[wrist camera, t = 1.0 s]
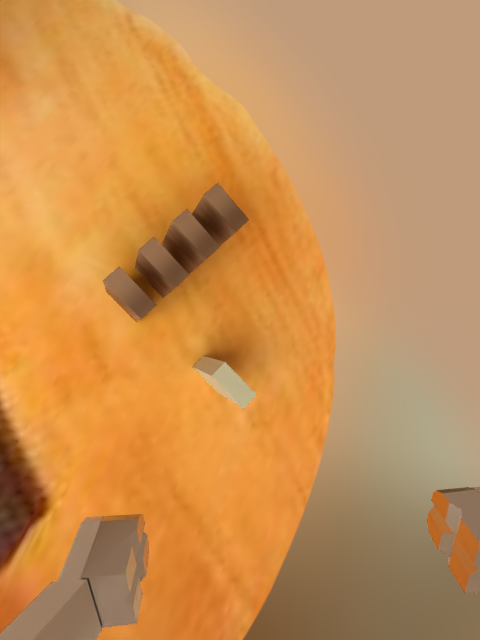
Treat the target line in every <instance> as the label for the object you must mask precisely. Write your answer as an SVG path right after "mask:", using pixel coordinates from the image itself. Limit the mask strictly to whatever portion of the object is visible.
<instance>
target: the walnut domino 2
mask: <svg viewBox="0 0 480 640" xmlns="http://www.w3.org/2000/svg"><path fill="white" fill-rule="evenodd" d="M135 269H136V270H137V271H138V272H139V273H140V274H141V275H142V276H143V277H144V278H145V279H146V280H147V281H148V282H149V283H150V284H151V285H152V286H153V287H154V288H155V289H156V291H157V292H158V293H159V294H160V295H161V296H162V297H165V296H166V295H167V294H168V293H169V292H171V291H172V290H173V289H174V288H175V287H176V286H178V285H179V284H180V283H181V282H182V281H183V280H184V279H185V278H186V277H187V276H188V275H189V274H188V273H187V272H186V271H185V269H184V268H183V267H182V266H181V265H180V264H179V263H178V262H177V261H176V260H175V259H174V258H173V256H172V255H171V254H170V253H169V252H168V251H167V250H166V249H165V248H164V247H163V246H162V245H161V243H160V242H159V241H158V240H157V239H156V238H155V237H153V238H152V239H151V240H150V241H148V242H147V243H146V244H145V245H144V246H143V247H141V248H140V249H139V251H138V256H137V260H136V265H135Z"/></svg>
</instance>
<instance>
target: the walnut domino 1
mask: <svg viewBox="0 0 480 640" xmlns="http://www.w3.org/2000/svg"><path fill="white" fill-rule="evenodd" d="M103 282H104V285H105V288H106V292H107V293H108V294H109V295H110V296H111V297H112V298H113V299H114V300H115V301H116V302H117V303H118V304H119V305H120V306H121V307H122V308H123V309H124V310H125V311H126V312H127V313H128V314H129V315H130V316H131V317H132V318H133V319H134V320H135V321H136V322H138V321H139V320H141V319H142V318H143V317H144V316H145V315H146V314H147V313H148V312H149V311H151V310H152V309H153V308H154V307H155V306H156V304H155V303H154V302H153V301H152V300H151V299H150V298H149V297H148V296H147V295H146V294H145V292H144V291H143V290H142V289H141V288H140V287H139V286H138V285H137V284H136V283H135V282H134V281H133V280H132V279H131V278H130V277H129V276H128V275H127V274H126V273H125V272H124V271H123V270H122V269H121V268H120V267H118V268H117V269H116V270H114V271H113V272H112V273H111V274H110V275H109V276H107V277H106V278H105V279H104V280H103Z"/></svg>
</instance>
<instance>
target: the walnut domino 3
mask: <svg viewBox="0 0 480 640" xmlns="http://www.w3.org/2000/svg"><path fill="white" fill-rule="evenodd" d="M162 246H163V247H164V248H165V249H166V250H167V251H168V252H169V253H170V254H171V255H172V256H173V258H174V259H175V260H176V261H177V262H178V263H179V264H180V265H181V266H182V267H183V268H184V269H185V271H186V272H187V273H188V274H190V273H191V272H192V271H193V270H194V269H195V268H197V267H198V266H199V265H200V264H201V263H202V262H204V261H205V260H206V259H207V258H208V257H209V256H210V255H211V254H212V253H214V252H215V251H216V250H217V249H218V248H219V247H220V246H219V245H218V244H217V242H216V241H215V240H214V239H213V238H212V237H211V236H210V234H209V233H208V232H207V231H206V230H205V229H204V228H203V227H202V225H201V224H200V223H199V222H198V221H197V220H196V219H195V217H194V216H193V215H192V214H191V213H190V212H189V211H188V209H186V210H185V211H184V212H183V213H182V214H180V215H179V216H178V217H177V218H176V219H174V220H173V221H172V224H171V226H170V228H169V230H168V232H167V234H166V236H165V239H164V241H163V243H162Z"/></svg>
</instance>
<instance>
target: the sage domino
mask: <svg viewBox="0 0 480 640" xmlns="http://www.w3.org/2000/svg"><path fill="white" fill-rule="evenodd" d="M193 368H194V369H195V370H196V371H197V372H198V373H199V374H200V375H201V376H202V377H203V378H204V379H205V380H206V381H207V382H208V383H209V384H210V385H211V386H212V387H213V388H214V389H215V390H216V391H217V392H218V393H219V394H220V395H222V396H224V397H225V398H227V399H229V400H230V401H232V402H234V403H235V404H237V405H238V406H240V407H242V408H243V409H244V408H245V407H246V406H247V405H248V404H249V403H250V401H251V400H252V399H253V398H254V397H255V396H256V394H255V393H254V392H253V390H252V389H251V388H250V387H249V386H248V385H247V384H246V383H245V382H244V381H243V380H242V379H241V378H240V377H239V376H238V375H237V374H236V373H235V372H234V371H233V370H232V369H231V368H230V366H229V365H228V364H227V363H226V362H224V361H220V360H216V359H213V358H209V357H205V356H203V357H202V358H201V359H200V360H199V361H198V362H197V363H196V364H195V365H194V366H193Z"/></svg>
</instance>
